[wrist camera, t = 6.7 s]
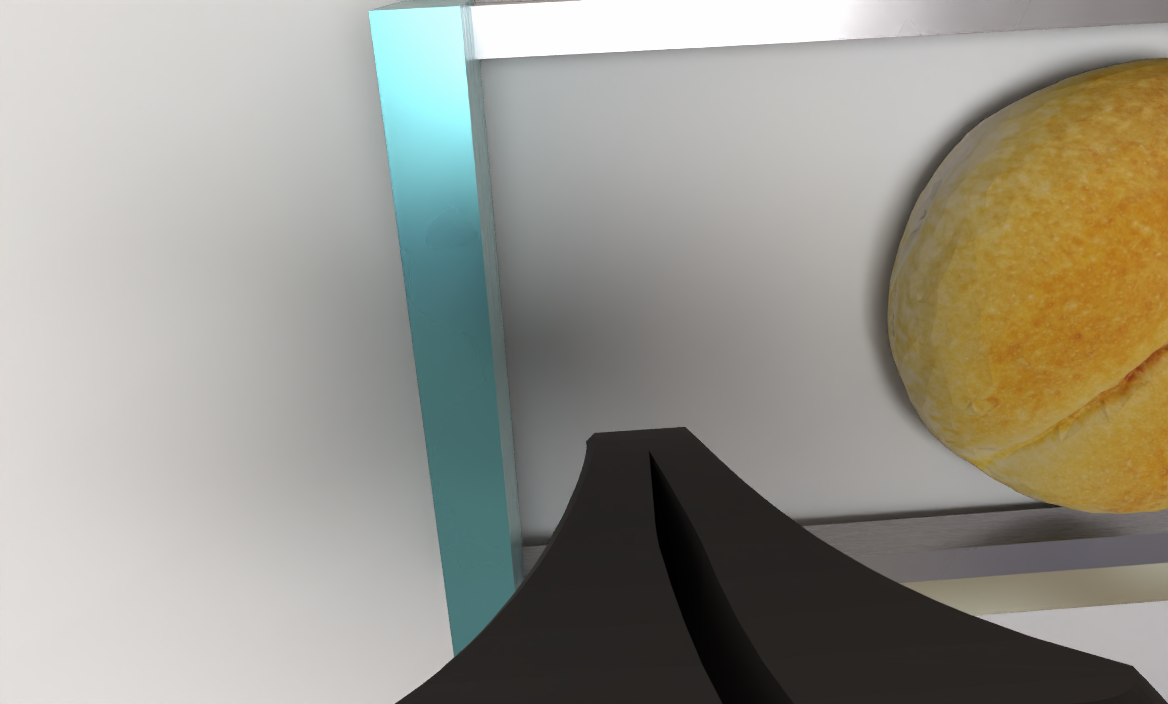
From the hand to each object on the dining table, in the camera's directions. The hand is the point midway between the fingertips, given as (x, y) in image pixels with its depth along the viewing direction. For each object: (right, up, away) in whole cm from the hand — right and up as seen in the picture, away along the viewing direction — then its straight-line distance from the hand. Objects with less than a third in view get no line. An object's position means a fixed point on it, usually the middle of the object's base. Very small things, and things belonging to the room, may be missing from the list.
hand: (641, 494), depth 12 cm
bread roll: (+10, +3, +7) cm, 12 cm away
